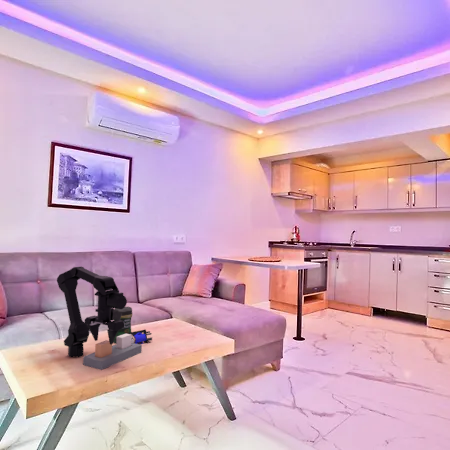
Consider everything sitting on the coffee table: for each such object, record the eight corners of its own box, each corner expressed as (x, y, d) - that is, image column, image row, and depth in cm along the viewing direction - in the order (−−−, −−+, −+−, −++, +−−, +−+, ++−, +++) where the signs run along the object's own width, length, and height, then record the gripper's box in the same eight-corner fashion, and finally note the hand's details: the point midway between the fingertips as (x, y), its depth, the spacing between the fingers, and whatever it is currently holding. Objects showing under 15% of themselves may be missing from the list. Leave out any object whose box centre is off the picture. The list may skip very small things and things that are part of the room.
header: (83, 367, 143) (83, 356, 143) (124, 350, 164) (124, 341, 165) (101, 372, 138) (101, 361, 138) (141, 354, 159) (141, 344, 159)
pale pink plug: (116, 355, 155) (116, 336, 155) (125, 351, 160) (125, 333, 160) (121, 356, 153) (122, 337, 153) (131, 352, 158) (131, 334, 159)
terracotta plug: (94, 363, 144) (95, 344, 144) (105, 359, 150) (106, 340, 150) (100, 365, 143) (101, 345, 143) (111, 360, 148) (112, 341, 148)
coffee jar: (117, 346, 170) (118, 309, 170) (109, 343, 175) (110, 307, 176) (134, 342, 177) (135, 307, 177) (126, 339, 182) (127, 304, 183)
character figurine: (154, 344, 175) (126, 351, 165) (148, 340, 180) (120, 346, 171) (155, 330, 174) (127, 335, 165) (148, 325, 180) (121, 330, 170)
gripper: (133, 305, 150) (132, 340, 149) (104, 300, 158) (103, 334, 158) (114, 310, 140) (113, 348, 139) (84, 305, 148) (83, 340, 148)
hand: (103, 342), depth 146 cm, fingers open, 9 cm apart
